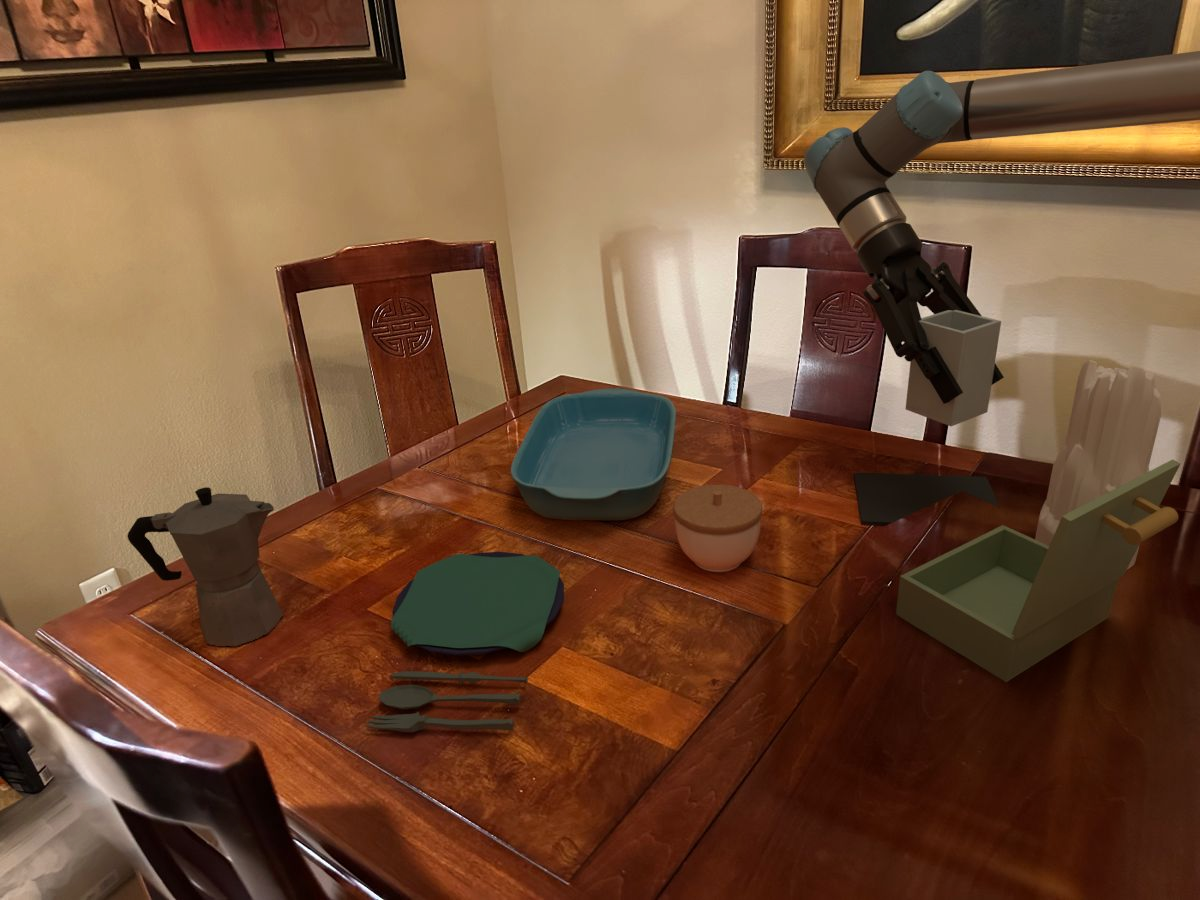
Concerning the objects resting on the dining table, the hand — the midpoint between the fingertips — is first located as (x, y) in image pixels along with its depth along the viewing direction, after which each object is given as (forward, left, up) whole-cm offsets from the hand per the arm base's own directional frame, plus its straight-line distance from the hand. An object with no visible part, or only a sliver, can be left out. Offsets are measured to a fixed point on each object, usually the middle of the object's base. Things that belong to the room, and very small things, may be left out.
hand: (973, 390), depth 103 cm
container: (+2, -3, -4) cm, 5 cm away
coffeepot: (+85, +33, -18) cm, 93 cm away
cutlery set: (+56, +32, -18) cm, 67 cm away
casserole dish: (+49, -8, -18) cm, 53 cm away
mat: (+3, -4, -18) cm, 18 cm away
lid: (-6, +28, -5) cm, 29 cm away
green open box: (-1, +22, -18) cm, 29 cm away
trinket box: (+30, +13, -18) cm, 38 cm away
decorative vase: (-13, +8, -18) cm, 23 cm away
